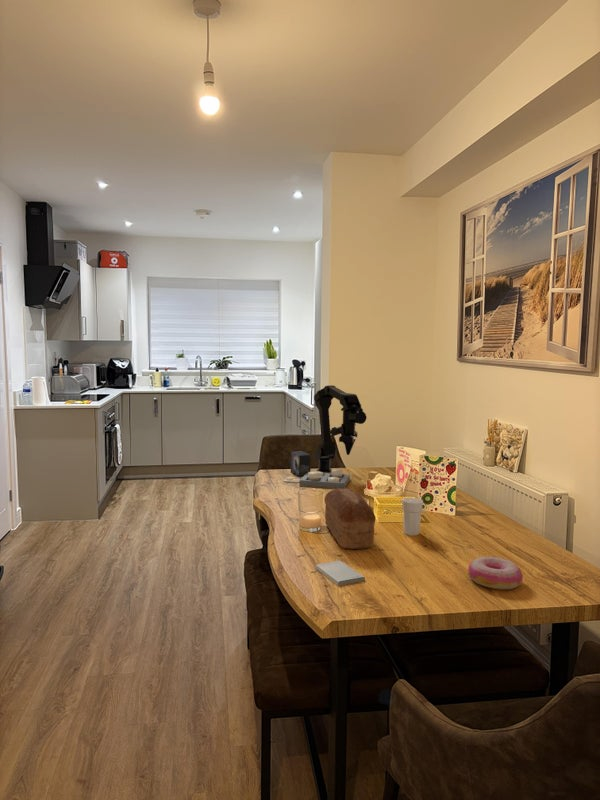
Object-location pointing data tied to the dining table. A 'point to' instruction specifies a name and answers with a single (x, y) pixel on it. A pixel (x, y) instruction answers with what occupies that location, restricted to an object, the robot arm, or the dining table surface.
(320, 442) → the robot arm
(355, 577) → the hard drive
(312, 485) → the board
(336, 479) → the button
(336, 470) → the button
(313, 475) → the button
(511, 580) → the donut
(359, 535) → the bread
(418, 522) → the cup
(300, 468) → the small box
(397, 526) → the dining table surface
